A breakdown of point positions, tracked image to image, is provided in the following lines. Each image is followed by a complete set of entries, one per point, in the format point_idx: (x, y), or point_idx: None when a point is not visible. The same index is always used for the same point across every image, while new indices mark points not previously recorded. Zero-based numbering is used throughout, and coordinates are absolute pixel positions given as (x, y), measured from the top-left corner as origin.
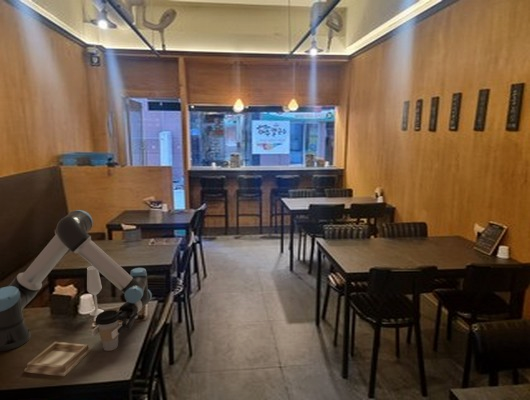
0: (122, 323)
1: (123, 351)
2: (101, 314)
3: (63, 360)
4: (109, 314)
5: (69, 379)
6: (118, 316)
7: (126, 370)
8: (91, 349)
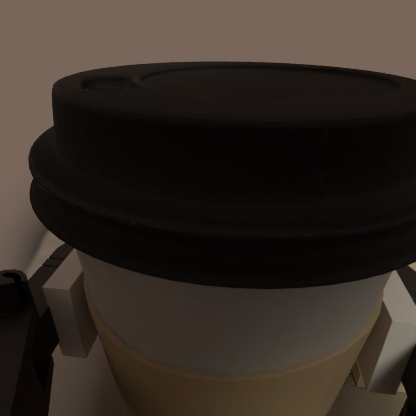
0: (19, 275)
1: (87, 379)
2: (365, 88)
3: (412, 265)
4: (207, 86)
5: None
6: (43, 134)
7: (59, 243)
8: (358, 379)
